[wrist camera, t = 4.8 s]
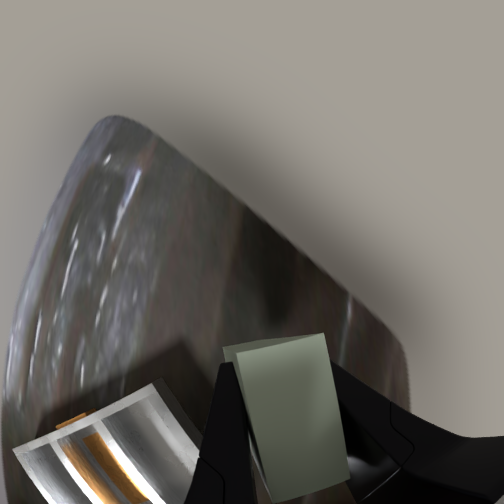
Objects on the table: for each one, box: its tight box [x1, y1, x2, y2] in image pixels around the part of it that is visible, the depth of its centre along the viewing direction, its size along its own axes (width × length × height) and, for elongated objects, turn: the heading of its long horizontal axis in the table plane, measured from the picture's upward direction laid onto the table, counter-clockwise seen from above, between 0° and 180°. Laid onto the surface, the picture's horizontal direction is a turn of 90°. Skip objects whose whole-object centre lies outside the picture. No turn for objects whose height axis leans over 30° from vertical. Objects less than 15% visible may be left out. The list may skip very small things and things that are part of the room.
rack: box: [12, 377, 203, 504], centre depth 15 cm, size 10×15×4 cm
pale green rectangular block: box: [223, 333, 350, 504], centre depth 10 cm, size 4×2×10 cm, turn 12°
